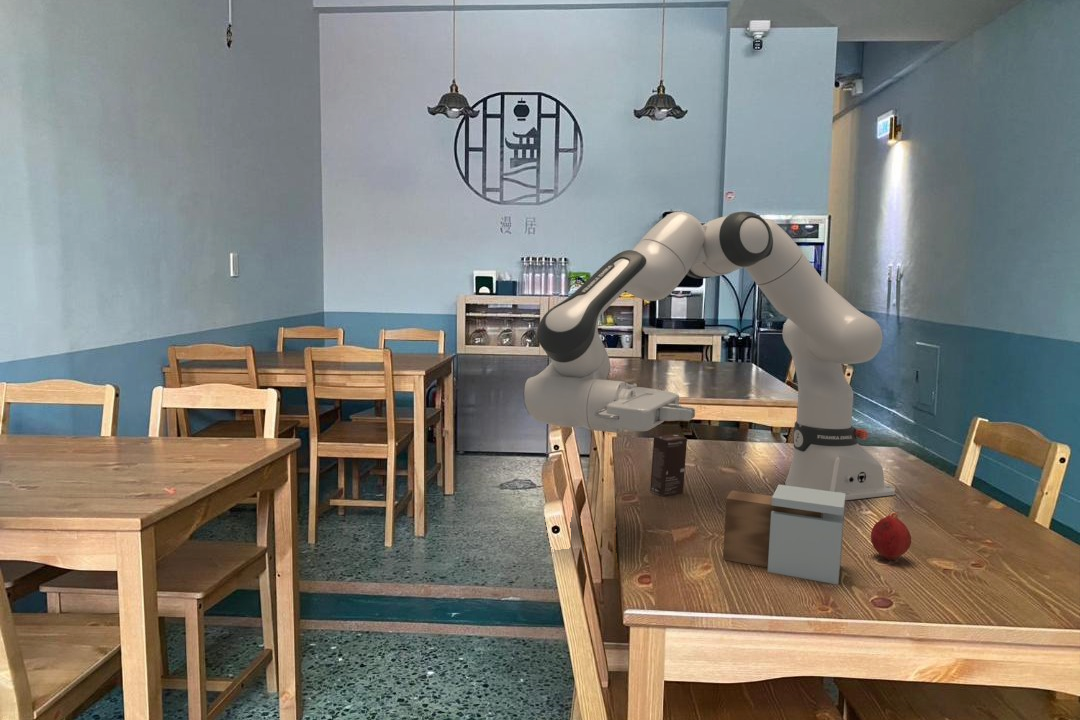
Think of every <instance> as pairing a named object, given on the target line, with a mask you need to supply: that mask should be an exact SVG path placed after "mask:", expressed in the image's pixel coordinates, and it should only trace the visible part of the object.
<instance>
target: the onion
mask: <svg viewBox="0 0 1080 720" xmlns="http://www.w3.org/2000/svg"><path fill="white" fill-rule="evenodd" d="M898 517H899V514H898V513H897V512H896V511H892V512H891V511H890V513H889V514H887V515H886V517H883V518H881V519H879V521H877V522H875V524H874V525H873V526H872V529H871V531H870V542H871V544H872V546H873V548H874V550H875V551H876V552H877V553H878V554H879V555H880V556H882V557H883V558H884V559H885V560H887V561H894V560H896V559H897V558H898V557H901V556H902V555H904V554H905V553H907V552H908V550H909V549H910V547H911V544H912V537H911V533H910V531H909V529H908V527H907V526H906V524H904V522H903V521H902V520H900V519H899V518H898Z"/></svg>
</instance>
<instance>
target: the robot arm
mask: <svg viewBox="0 0 1080 720" xmlns="http://www.w3.org/2000/svg"><path fill="white" fill-rule="evenodd" d="M743 268H744V269H745V270H746V271H747V273H748V275H750V277H751V278H752V280H753V281H754V282H755V284H756V285H757V286H758V288H759V289H760V291H761V292H762V293H763V294H764V295H765V297H766V299H767V300H768V301H769V303H770V304H771V305H772V307H773V308H774V309H775V310H776V311H777V312H778V313H779V314H780V315H782V316H784V317H786V318H787V319H786V320H785V323H784V324H783V327H782V333H781V334H782V339H783V342H784V345H785V346H786V347H787V349H788V350H789V352H790V355H791V357H792V361H793V364H794V365H793V366H794V370H795V374H796V380H797V391H798V392H797V410H796V411H797V415H796V421H795V422H794V425H793V426H794V429H793V447H794V448H793V454H792V458H791V464H790V467H789V471H788V474H787V477H786V480H785V483H784V485H786V486H794V487H801V488H809V489H816V490H824V491H832V492H839V493H846V496H845V501H850V500H860V499H861V500H862V499H867V498H870V499H871V498H876V497H877V498H878V497H887V496H895V495H896V490H895V488H894V487H893V486H892V485H890V484H888V483H886V482H885V477H884V469H883V466H882V464H881V462H880V461H879V460H878V459H877V458H876V457H874V456H873V455H872V454H871V453H869V452H868V451H867V450H865V449H864V448H863V446H861V445H860V444H859V442H858V439H861V440H867V438H869V431H867V430H865V429H862V428H857V429H856V428H855V427H854V426H853V425H852V421H853V418H852V417H853V409H854V391H853V388H852V386H851V385H850V383H849V382H848V381H847V378H846V376H845V374H844V370H843V366H842V365H854V364H863V363H866V362H869V361H871V360H872V359H874V358H875V357H876V356H877V354H878V353H879V352H880V350H881V348H882V344H883V332H882V328H881V326H880V325H879V323H878V322H877V321H876V320H875V319H874V318H872V317H871V316H868V315H866V314H865V313H863V312H861V311H860V310H858V308H856V307H854V306H853V305H852V304H851V303H850V302H849V301H848V300H846V298H844V297H843V296H842V295H841V294H839V293H838V292H837V291H836V290H835V289H833V287H831V285H830V284H828V283H827V281H825V279H823V277H822V276H821V275H820V274H819V273H818V271H817V270H816V268H815V267H814V266H813V264H812V263H811V262H810V260H809V259H808V258H807V256H806V255H805V254H804V252H803V251H802V249H801V248H800V247H799V246H798V244H797V242H795V240H793V238H792V237H791V236H790V235H789V234H788V233H787V232H786V231H785V230H784V229H783V228H782V227H781V226H780V225H778V224H777V223H776V222H775V221H774V220H772V219H768V218H763V217H762V216H760V215H759V214H757V213H755V212H751V211H735V212H732V213H730V214H728V215H725V216H721V217H717V218H715V219H711V220H709V221H708V222H706V223H704V224H702V223H701V221H700V220H699V219H697V218H696V216H694V215H692V214H690V213H688V212H685V211H674V212H671V213H669V214H667V215H665V216H664V217H663V218H661V220H660V221H658V222H657V223H656V224H655V225H654V226H652V227H651V228H650V229H649V231H647V232H646V234H644V235H643V237H641V239H640V240H639V242H638V243H636V244H635V246H634V247H633V248H632V249H629V250H623V251H621V252H619V253H617V254H615V255H614V256H612V257H611V258H610V259H609V260H608V261H607V262H605V263H604V264H603V265H602V266H601V267H600V268H598V270H597V271H596V272H594V273H593V274H592V275H591V276H590V277H589V278H588V279H587V280H586V281H585V282H584V283H582V284H581V285H580V287H578V288H577V289H576V290H575V291H574V292H573V293H572V294H571V295H570V296H568V297H567V298H566V299H564V300H562V301H561V302H559V303H558V304H555V305H554V306H553V307H551V308H550V309H548V311H546V312H545V314H544V315H543V317H542V318H541V320H540V321H539V323H538V325H537V329H536V330H537V331H536V336H537V341H538V343H539V345H540V346H541V348H542V350H544V352H545V354H546V355H547V356H548V357H549V359H550V361H551V362H549V364H548V366H546V367H545V368H544V369H543V370H542V371H541V372H540V373H538V374H537V375H534V376H530V377H529V378H527V379H526V381H525V383H524V387H523V403H524V407H525V409H526V411H527V413H528V415H529V416H530V417H531V419H533V420H535V421H537V422H539V423H543V424H547V425H551V426H557V427H564V428H577V427H582V428H585V429H588V430H591V431H598V432H606V433H614V434H621V433H622V431H623V430H627V431H634V432H648V431H650V430H652V429H653V428H655V427H657V426H658V425H660V424H662V423H664V422H671V421H672V422H675V421H684V422H690V421H691V420H692V419H694V418H695V417H696V409H695V407H691V406H684V405H680V395H679V394H678V393H676V392H672V391H667V390H661V389H655V388H650V387H641V386H638V384H637V383H634V382H632V383H631V382H625V381H621V380H611V379H610V380H609V379H608V377H609V375H610V373H611V361H610V357H609V354H608V352H607V349H606V347H605V345H604V343H603V341H602V338H601V336H600V333H599V329H598V327H599V320H600V317H601V315H602V314H603V313H604V312H605V311H606V310H607V309H609V307H610V306H611V305H612V304H613V303H614V302H615V301H616V300H617V299H618V298H619V297H620V296H622V294H623V293H625V292H626V293H628V294H630V295H631V296H633V297H635V298H638V299H639V300H643V301H649V302H654V301H660V300H664V299H665V298H668V296H669V295H671V294H672V292H674V290H676V289H677V287H678V286H679V285H680V283H681V282H682V281H683V279H685V277H686V276H687V277H690V278H693V279H704V280H705V279H709V278H712V277H718V276H723V275H728V274H731V273H734V272H735V271H737V270H740V269H743Z"/></svg>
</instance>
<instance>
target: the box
mask: <svg viewBox="0 0 1080 720" xmlns="http://www.w3.org/2000/svg"><path fill="white" fill-rule="evenodd" d="M687 443H688V438H687V437H685V436H681V435H678V434H675V433H673V434H671V433H670V434H663V435H657V436H656V435H655V436H653V444H652V456H651V457H652V458H651V474H650V475H651V476H650V488H649V492H651V493H652V494H654V495H658V496H661V497H665V496H671V495H675V494H682V493H684V485H685V484H684V483H685V471H686V468H685V467H686V459H687V457H686V456H687V445H688V444H687Z"/></svg>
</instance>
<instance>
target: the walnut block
mask: <svg viewBox="0 0 1080 720" xmlns="http://www.w3.org/2000/svg"><path fill="white" fill-rule="evenodd" d="M772 497H773V495H769V494H768V495H767V494H759V493H755V492H746V491H739V490H731V491H730V493H729V494H728V495H727V497H726V499H725V517H724V534H723V535H724V537H723V538H724V540H723V554H722V556H723V557H722V560H723V561H729V562H735V563H740V564H746V565H752V566H758V567H763V568H767V569H768V556H769V539H770V523H771V512H772V511H777V512H783V513H790V514H797V515H804V516H810V517H817V518H823V513H821V512H814V511H807V510H800V509H794V508H787V507H780V506H773V505H772Z"/></svg>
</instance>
